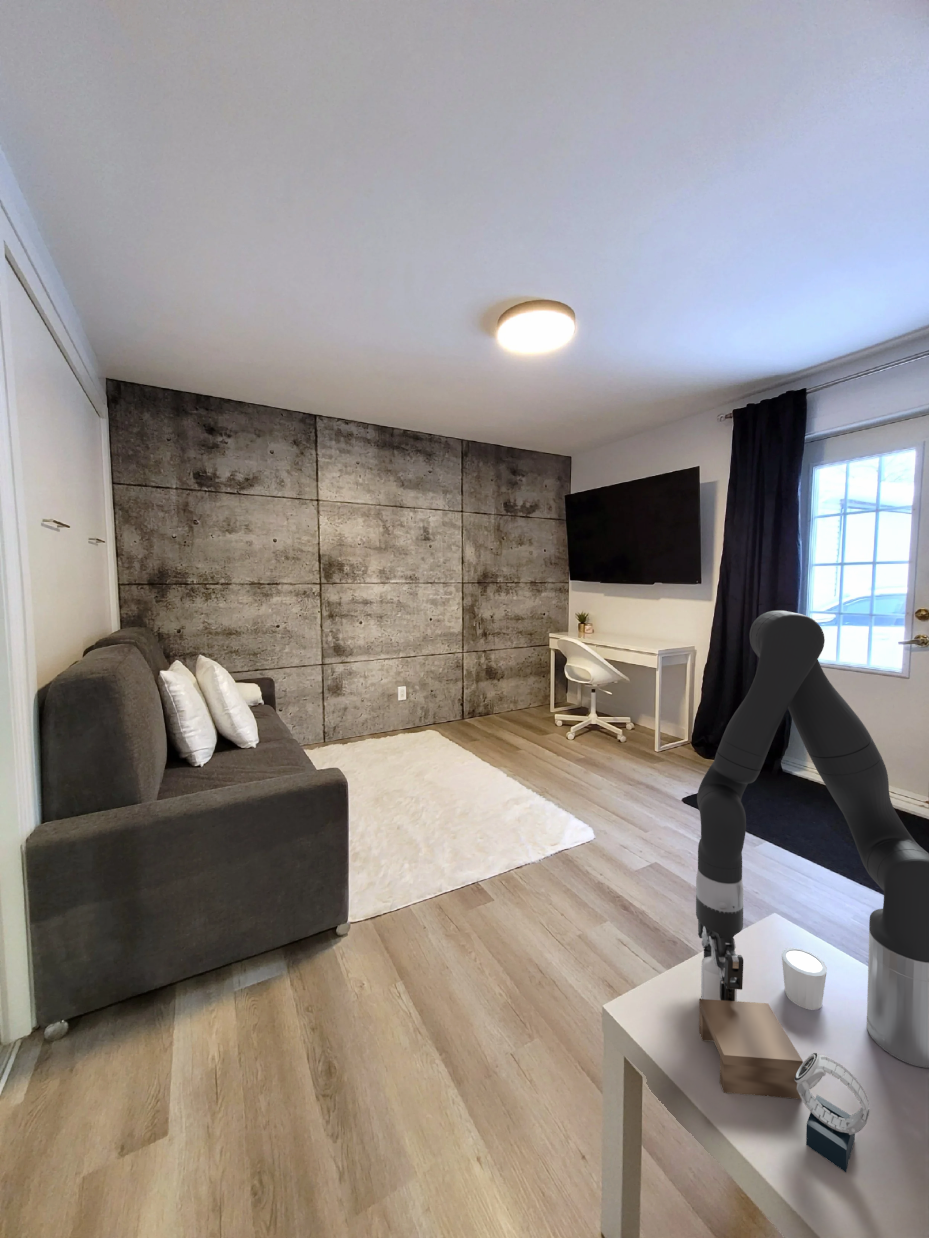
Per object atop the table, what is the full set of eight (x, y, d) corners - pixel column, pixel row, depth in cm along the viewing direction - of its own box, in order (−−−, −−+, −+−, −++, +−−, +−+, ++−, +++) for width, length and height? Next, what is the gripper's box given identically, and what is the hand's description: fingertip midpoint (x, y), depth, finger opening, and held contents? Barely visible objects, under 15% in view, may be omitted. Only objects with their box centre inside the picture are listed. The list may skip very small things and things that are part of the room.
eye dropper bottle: (730, 1022, 85) (731, 956, 84) (697, 1001, 89) (697, 939, 88) (739, 1007, 88) (740, 943, 87) (707, 988, 92) (708, 927, 91)
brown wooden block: (767, 1037, 82) (768, 1003, 81) (802, 1099, 72) (802, 1060, 72) (699, 1032, 83) (699, 998, 83) (723, 1092, 73) (724, 1054, 73)
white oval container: (811, 982, 93) (812, 947, 92) (835, 1014, 86) (836, 976, 85) (773, 980, 93) (774, 946, 93) (794, 1011, 87) (794, 974, 86)
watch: (800, 1104, 71) (801, 1033, 71) (871, 1150, 65) (873, 1072, 65) (789, 1133, 67) (790, 1058, 67) (863, 1185, 62) (865, 1103, 61)
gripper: (761, 925, 80) (759, 1021, 81) (724, 873, 94) (723, 956, 95) (713, 922, 80) (712, 1017, 81) (683, 872, 95) (683, 953, 96)
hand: (718, 984), depth 88 cm, fingers open, 7 cm apart
